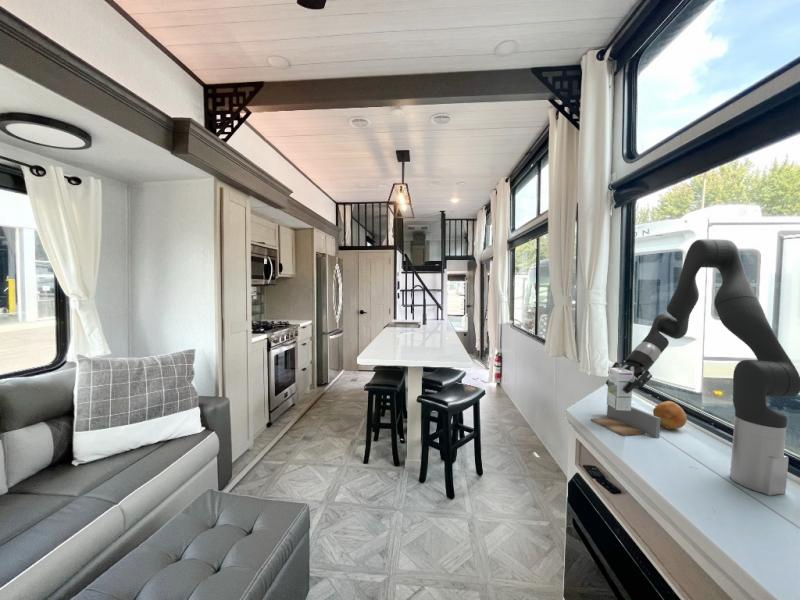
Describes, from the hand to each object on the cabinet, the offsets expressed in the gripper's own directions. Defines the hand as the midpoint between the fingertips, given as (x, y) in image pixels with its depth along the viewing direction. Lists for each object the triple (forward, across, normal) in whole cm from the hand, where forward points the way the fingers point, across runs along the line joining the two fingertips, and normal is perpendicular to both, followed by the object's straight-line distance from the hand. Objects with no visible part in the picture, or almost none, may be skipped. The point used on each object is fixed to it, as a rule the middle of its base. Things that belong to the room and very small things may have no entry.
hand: (616, 388), depth 121 cm
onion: (-4, +4, +26) cm, 26 cm away
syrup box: (+4, 0, +6) cm, 8 cm away
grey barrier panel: (+5, 0, +16) cm, 17 cm away
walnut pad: (+9, 0, +11) cm, 15 cm away
